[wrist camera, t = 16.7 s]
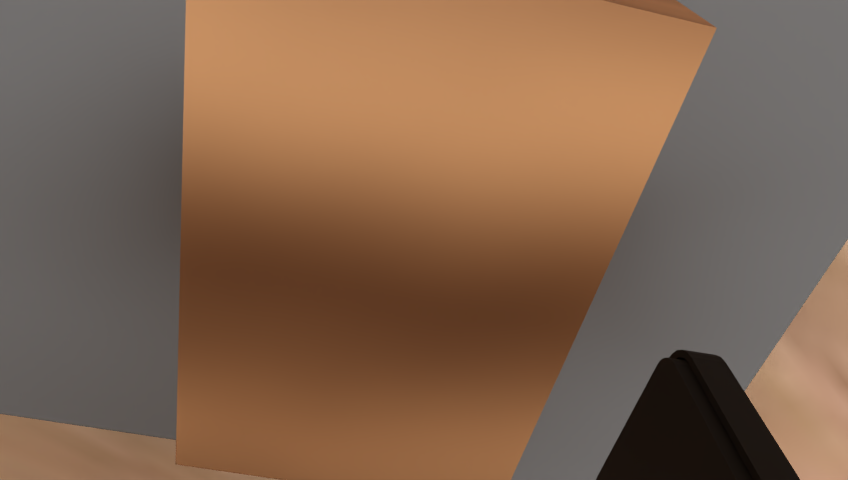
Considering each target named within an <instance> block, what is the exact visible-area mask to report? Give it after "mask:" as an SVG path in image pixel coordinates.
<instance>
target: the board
mask: <svg viewBox="0 0 848 480" xmlns="http://www.w3.org/2000/svg"><path fill="white" fill-rule="evenodd" d="M677 1H678V2H680V3H681V4H682V5H684V6H685V7H687V8H688V9H690V10H691V11H693V12H694V13H696V14H697V15H699V16H700V17H702V18H703V19H705V20H706V21H707V22H709V23H710V24H712V25H713V26H715V27H716V28H717V29H716V31H715V33H714V35H713V37H712V40H711V42H710V44H709V46H708V48H707V51H706V53H705V55H704V57H703V59H702V62H701V64H700V66H699V68H698V70H697V73H696V75H695V77H694V79H693V81H692V84H691V86H690V88H689V90H688V92H687V94H686V97H685V99H684V101H683V103H682V105H681V108H680V110H679V112H678V114H677V116H676V119H675V121H674V123H673V125H672V127H671V130H670V132H669V134H668V136H667V138H666V141H665V143H664V145H663V147H662V149H661V152H660V154H659V156H658V158H657V160H656V162H655V165H654V167H653V169H652V171H651V173H650V176H649V178H648V180H647V182H646V184H645V187H644V189H643V191H642V193H641V195H640V198H639V200H638V202H637V204H636V206H635V209H634V211H633V213H632V215H631V217H630V219H629V222H628V224H627V226H626V228H625V230H624V233H623V235H622V237H621V239H620V241H619V244H618V246H617V248H616V250H615V252H614V255H613V257H612V259H611V261H610V263H609V266H608V268H607V270H606V272H605V274H604V276H603V279H602V281H601V283H600V285H599V287H598V290H597V292H596V294H595V296H594V298H593V301H592V303H591V305H590V307H589V309H588V312H587V314H586V316H585V318H584V320H583V323H582V325H581V327H580V329H579V331H578V333H577V336H576V338H575V340H574V342H573V344H572V347H571V349H570V351H569V353H568V355H567V358H566V360H565V362H564V364H563V366H562V369H561V371H560V373H559V375H558V377H557V380H556V382H555V384H554V386H553V388H552V391H551V393H550V395H549V397H548V399H547V401H546V404H545V406H544V408H543V410H542V412H541V415H540V417H539V419H538V421H537V423H536V426H535V428H534V430H533V432H532V434H531V437H530V439H529V441H528V443H527V445H526V448H525V450H524V452H523V454H522V456H521V458H520V461H519V463H518V465H517V467H516V469H515V472H514V474H513V476H512V478H511V480H596V479H597V476H598V474H599V472H600V470H601V469H602V467H603V465H604V463H605V461H606V459H607V457H608V456H609V454H610V452H611V450H612V448H613V446H614V444H615V442H616V441H617V439H618V437H619V435H620V433H621V431H622V429H623V428H624V426H625V424H626V422H627V420H628V418H629V416H630V414H631V413H632V411H633V409H634V407H635V405H636V403H637V401H638V400H639V398H640V396H641V394H642V392H643V390H644V388H645V387H646V385H647V383H648V381H649V379H650V377H651V375H652V373H653V372H654V370H655V368H656V366H657V364H658V363H659V361H660V360H661V359H663V358H669V357H670V356H671V355H672V353H674V352H675V351H677V350H688V351H694V352H701V353H707V354H714V355H717V356H720V357H722V359H723V360H724V361H725V362H726V363H727V365H728V367H729V368H730V370H731V371H732V373H733V374H734V376H735V378H736V379H737V381H738V382H739V384H740V386H741V387H742V389H743V390H744V391H745V390H746V388H747V387H748V385H749V384H750V382H751V381H752V379H753V378H754V376H755V375H756V373H757V372H758V371H759V369H760V368H761V366H762V365H763V363H764V362H765V360H766V359H767V357H768V356H769V354H770V353H771V351H772V350H773V348H774V347H775V345H776V344H777V342H778V341H779V340H780V338H781V337H782V335H783V334H784V332H785V331H786V329H787V328H788V326H789V325H790V323H791V322H792V320H793V319H794V317H795V316H796V314H797V313H798V312H799V310H800V309H801V307H802V306H803V304H804V303H805V301H806V300H807V298H808V297H809V295H810V294H811V292H812V291H813V289H814V288H815V286H816V285H817V284H818V282H819V281H820V279H821V278H822V276H823V275H824V273H825V272H826V270H827V269H828V267H829V266H830V264H831V263H832V261H833V260H834V258H835V257H836V256H837V254H838V253H839V251H840V250H841V248H842V247H843V245H844V244H845V242H846V241H847V239H848V0H677ZM185 19H186V0H0V414H5V415H12V416H19V417H25V418H32V419H39V420H46V421H52V422H59V423H66V424H72V425H79V426H86V427H93V428H99V429H106V430H113V431H119V432H126V433H133V434H140V435H146V436H153V437H160V438H166V439H173V440H176V426H177V381H178V336H179V290H180V245H181V200H182V155H183V110H184V64H185Z"/></svg>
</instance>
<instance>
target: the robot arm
mask: <svg viewBox="0 0 848 480" xmlns="http://www.w3.org/2000/svg"><path fill="white" fill-rule="evenodd" d="M596 480H800V479H799V477H798V476H797V474H796V473H795V471H794V469H793V468H792V466H791V465H790V463H789V461H788V460H787V458H786V457H785V455H784V454H783V452H782V450H781V449H780V447H779V446H778V444H777V442H776V441H775V439H774V438H773V436H772V435H771V433H770V431H769V430H768V428H767V427H766V425H765V423H764V422H763V420H762V419H761V417H760V416H759V414H758V412H757V411H756V409H755V408H754V406H753V404H752V403H751V401H750V400H749V398H748V397H747V395H746V393H745V392H744V390H743V389H742V387H741V386H740V384H739V382H738V381H737V379H736V378H735V376H734V374H733V373H732V371H731V370H730V368H729V367H728V365H727V363H726V362H725V361H724V360H723V359H722V357H720V356H717V355H714V354H707V353H701V352H694V351H688V350H677V351H675V352H674V353H672V355H671V356H670V357H669V358H663V359H661V360H660V361H659V363H658V364H657V366H656V368H655V370H654V372H653V373H652V375H651V377H650V379H649V381H648V383H647V385H646V387H645V388H644V390H643V392H642V394H641V396H640V398H639V400H638V401H637V403H636V405H635V407H634V409H633V411H632V413H631V414H630V416H629V418H628V420H627V422H626V424H625V426H624V428H623V429H622V431H621V433H620V435H619V437H618V439H617V441H616V442H615V444H614V446H613V448H612V450H611V452H610V454H609V456H608V457H607V459H606V461H605V463H604V465H603V467H602V469H601V470H600V472H599V474H598V476H597V479H596Z"/></svg>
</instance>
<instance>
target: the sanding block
mask: <svg viewBox="0 0 848 480" xmlns="http://www.w3.org/2000/svg"><path fill="white" fill-rule="evenodd" d="M716 29H717V28H716V27H715V26H713V25H712V24H710V23H709V22H707V21H706V20H705V19H703V18H702V17H700V16H699V15H697V14H696V13H694V12H693V11H691V10H690V9H688V8H687V7H685V6H684V5H682V4H681V3H680V2H678V1H677V0H186V19H185V64H184V110H183V155H182V200H181V245H180V290H179V336H178V381H177V426H176V464H178V465H184V466H191V467H198V468H205V469H212V470H219V471H226V472H233V473H239V474H246V475H253V476H260V477H267V478H274V479H281V480H511V478H512V476H513V474H514V472H515V469H516V467H517V465H518V463H519V461H520V458H521V456H522V454H523V452H524V450H525V448H526V445H527V443H528V441H529V439H530V437H531V434H532V432H533V430H534V428H535V426H536V423H537V421H538V419H539V417H540V415H541V412H542V410H543V408H544V406H545V404H546V401H547V399H548V397H549V395H550V393H551V391H552V388H553V386H554V384H555V382H556V380H557V377H558V375H559V373H560V371H561V369H562V366H563V364H564V362H565V360H566V358H567V355H568V353H569V351H570V349H571V347H572V344H573V342H574V340H575V338H576V336H577V333H578V331H579V329H580V327H581V325H582V323H583V320H584V318H585V316H586V314H587V312H588V309H589V307H590V305H591V303H592V301H593V298H594V296H595V294H596V292H597V290H598V287H599V285H600V283H601V281H602V279H603V276H604V274H605V272H606V270H607V268H608V266H609V263H610V261H611V259H612V257H613V255H614V252H615V250H616V248H617V246H618V244H619V241H620V239H621V237H622V235H623V233H624V230H625V228H626V226H627V224H628V222H629V219H630V217H631V215H632V213H633V211H634V209H635V206H636V204H637V202H638V200H639V198H640V195H641V193H642V191H643V189H644V187H645V184H646V182H647V180H648V178H649V176H650V173H651V171H652V169H653V167H654V165H655V162H656V160H657V158H658V156H659V154H660V152H661V149H662V147H663V145H664V143H665V141H666V138H667V136H668V134H669V132H670V130H671V127H672V125H673V123H674V121H675V119H676V116H677V114H678V112H679V110H680V108H681V105H682V103H683V101H684V99H685V97H686V94H687V92H688V90H689V88H690V86H691V84H692V81H693V79H694V77H695V75H696V73H697V70H698V68H699V66H700V64H701V62H702V59H703V57H704V55H705V53H706V51H707V48H708V46H709V44H710V42H711V40H712V37H713V35H714V33H715V31H716Z"/></svg>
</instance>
